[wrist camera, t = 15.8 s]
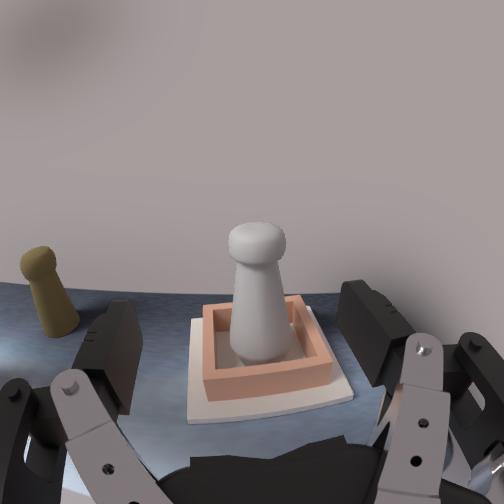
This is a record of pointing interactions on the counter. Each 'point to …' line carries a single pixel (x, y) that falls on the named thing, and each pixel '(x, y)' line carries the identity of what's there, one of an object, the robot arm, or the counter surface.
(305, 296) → the counter surface
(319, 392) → the tray
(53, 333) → the pepper shaker
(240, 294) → the salt shaker
